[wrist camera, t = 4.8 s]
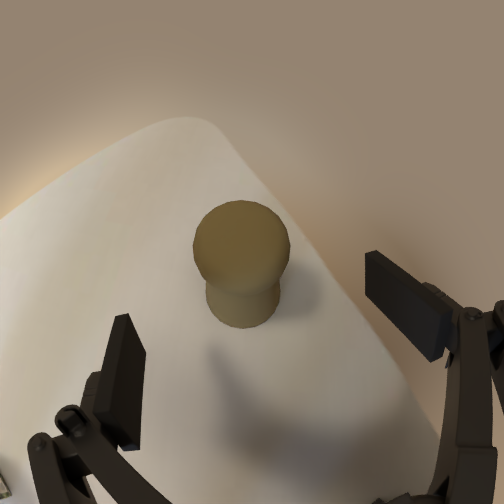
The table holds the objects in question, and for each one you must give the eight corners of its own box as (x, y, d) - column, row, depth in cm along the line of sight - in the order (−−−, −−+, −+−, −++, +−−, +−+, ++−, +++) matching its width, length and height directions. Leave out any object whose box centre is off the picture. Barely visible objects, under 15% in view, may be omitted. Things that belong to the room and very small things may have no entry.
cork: (265, 247, 27) (277, 170, 17) (290, 314, 25) (321, 271, 15) (197, 268, 26) (168, 200, 16) (218, 338, 24) (197, 311, 14)
